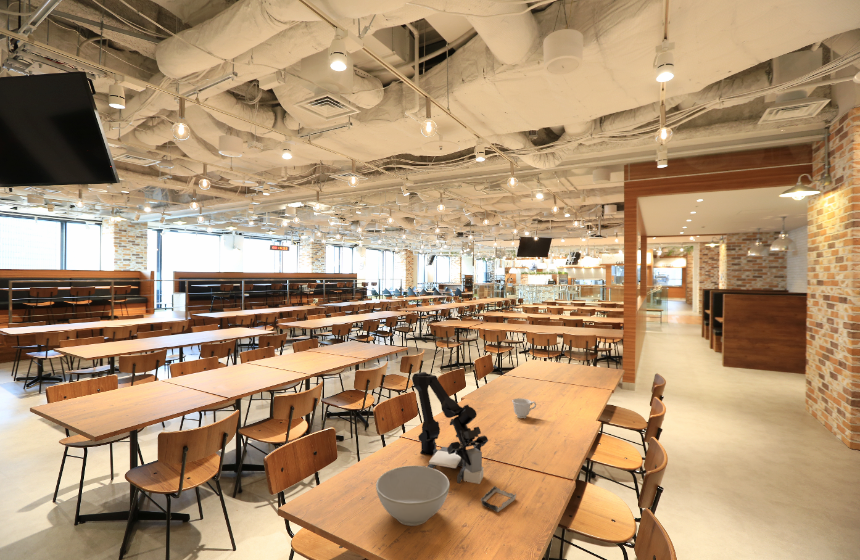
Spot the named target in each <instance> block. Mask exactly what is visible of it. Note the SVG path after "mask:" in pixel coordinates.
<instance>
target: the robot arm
mask: <svg viewBox="0 0 860 560" xmlns="http://www.w3.org/2000/svg"><path fill="white" fill-rule="evenodd" d="M411 381H412V383H413V384H412V385H413V388H415V390H416V391H417V393H418V397H419V398H418V399H419V404H420V408H421V413H422V419H423V422H422V426H421V432H420V433H419V435H418V436H417V437H418V441H419V442H421V446H420V448H421V451H420V452H419V454H423V455H428V456H433V450H434V449H437V442H436V440H437V439H438V438H439V435H440V433H441V427H440V422H439V421H436V419H434V414H433V410H432V404H431V399H430V395H429V390H428V389H429V388H430V389H431V390H432V392H433V393H434V395H435V396H436V398H437V399H438V401H439V403H440V404H441V411H442V413H443V414H444V417H445V418H447V419H450V422H449V426H453V428H454V431H455V433H456V435H455V438H458V441H454V442H451V443H450V444H449V445H448V446H447V447H448V448H447V451H448V454H453V453H455V451H456V453H455V454H456V455H459V456H460V457H461V458H462V459H463V460H464V461H465V462H466V463H467V464H468V465H469V466H470V465H471V462H470V459H469V457H468V455H467V452H466V450H467V448H468V447H472V448H477V449H478V450H480V451H481V452H482V447H484V446H485V445H486V444H487V443H488V442H489V439H488V437H487V436H486V435H481V434H482V432H481V429H480V427H479V426H475V427H473V429H472V430H471V428H470V427H469V426H468V425H469V424H470V423H471V422H472V421H474V419H476V417H477V410H475V409H474V408H473V407H471V406H470V405H469V404H465V405H464V406H463V407H462V406H460V405H459V404H458V402H457V401H456V400H455V399H453V398H451V397H450V396H449V394H448V393H447V392H446V390H445V389H444V387H443V386H442V384H441V382H440V381H439V380H438V376H436V375H435V374H432V373H428V372H426V371H423V372H422V371H421V372H416V373H413V375H412V376H411ZM479 435H481V436H479Z"/></svg>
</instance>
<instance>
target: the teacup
mask: <svg viewBox="0 0 860 560" xmlns="http://www.w3.org/2000/svg"><path fill="white" fill-rule="evenodd" d="M511 402H512V404H513V412H514V414H515V415H516V417H517V418H518V419H521V418H524V419H527V416H529V414H530V412H531V410H535V408H536V407H537V403H536V401H533V400H530V399H528V398H523V397H522V398H520V397H519V398H513V399H512V400H511ZM533 404H534V405H533ZM531 406H532V407H531Z"/></svg>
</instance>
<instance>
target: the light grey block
mask: <svg viewBox="0 0 860 560" xmlns="http://www.w3.org/2000/svg"><path fill="white" fill-rule="evenodd" d="M483 478H484V466H482V471H478V472H475V473H471V472H470V471H469V470H467V469H465V470H464V477H463V482H466V481H467V482H468V483H472V484H478V485H480V484H481V482H482V481H483Z"/></svg>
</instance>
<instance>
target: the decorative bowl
mask: <svg viewBox="0 0 860 560" xmlns="http://www.w3.org/2000/svg"><path fill="white" fill-rule="evenodd" d="M450 487H451V485H450V480H449V478H448V477H447V475H445V474H444V473H443V472H441V471H440V470H438V469H436V468H434V469H433V468H430V467H427V466H423V465H405V466H399V467H395V468H393V469H390V470H387V471H386V472H384V473H382V474H381V475H380V476H379V477H378V479H377V481H376V483H375V490H376V493H377V496H378V499H379V502H380V503H381V505H382V507H383V508H384V509H385V510H386V512H387V513H388V514H389V515H390V516H392V517H393V518H394V519H396V521H397V522H399V523H400V524H402V525H405V526H408V527H410V526H411V527H416V526H420V525H423V524H426V522H428V520H429V519H430V518H432V517H434V516H435V515H436V513H437V512H439V510H440V509H441V508H442V506H443V505H444V503H445V501H446V500H447V496H448V494H449V491H450Z"/></svg>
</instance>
